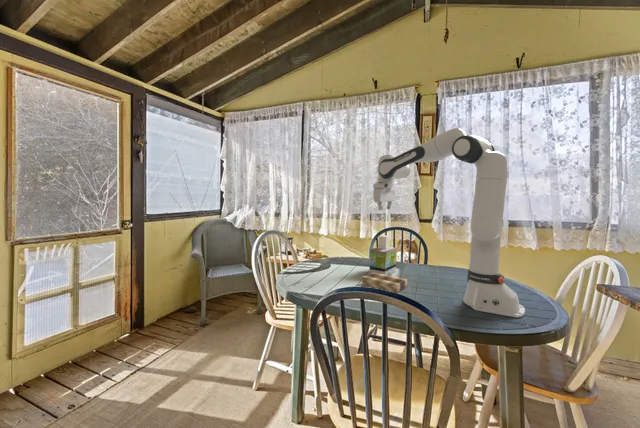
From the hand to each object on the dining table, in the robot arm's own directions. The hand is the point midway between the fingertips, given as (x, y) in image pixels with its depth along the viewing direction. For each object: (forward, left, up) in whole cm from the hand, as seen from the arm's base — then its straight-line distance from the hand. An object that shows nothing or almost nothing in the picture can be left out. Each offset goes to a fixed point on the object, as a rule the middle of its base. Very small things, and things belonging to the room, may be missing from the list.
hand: (384, 209), depth 168 cm
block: (0, 0, -22) cm, 22 cm away
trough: (-11, +19, -37) cm, 43 cm away
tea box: (0, 0, -37) cm, 37 cm away
